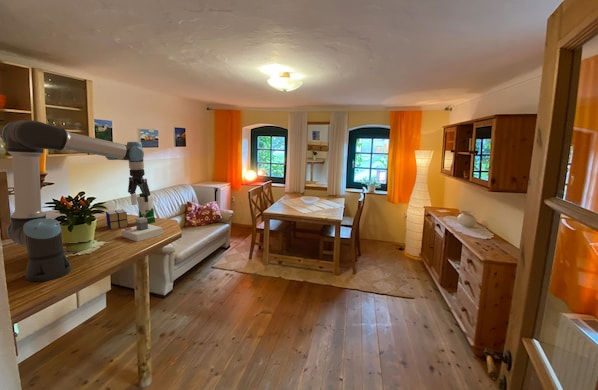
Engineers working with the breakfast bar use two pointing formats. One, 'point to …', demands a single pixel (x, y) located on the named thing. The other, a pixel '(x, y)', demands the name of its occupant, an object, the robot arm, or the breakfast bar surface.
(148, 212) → the milk carton
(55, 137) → the robot arm
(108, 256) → the breakfast bar surface
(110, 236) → the breakfast bar surface
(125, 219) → the puzzle cube
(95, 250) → the breakfast bar surface
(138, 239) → the socket plate
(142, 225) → the plug
